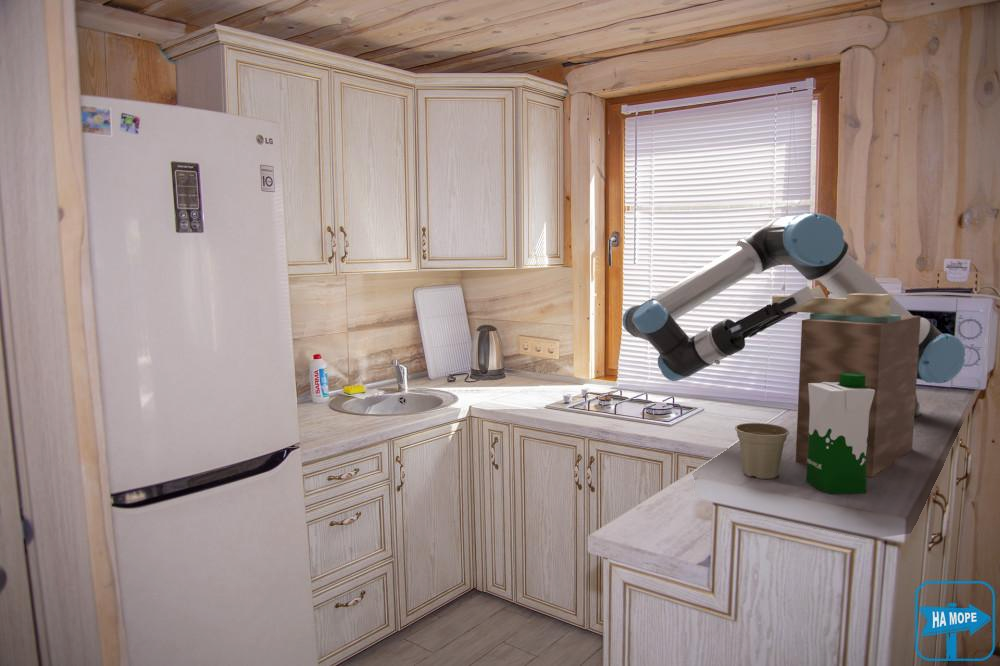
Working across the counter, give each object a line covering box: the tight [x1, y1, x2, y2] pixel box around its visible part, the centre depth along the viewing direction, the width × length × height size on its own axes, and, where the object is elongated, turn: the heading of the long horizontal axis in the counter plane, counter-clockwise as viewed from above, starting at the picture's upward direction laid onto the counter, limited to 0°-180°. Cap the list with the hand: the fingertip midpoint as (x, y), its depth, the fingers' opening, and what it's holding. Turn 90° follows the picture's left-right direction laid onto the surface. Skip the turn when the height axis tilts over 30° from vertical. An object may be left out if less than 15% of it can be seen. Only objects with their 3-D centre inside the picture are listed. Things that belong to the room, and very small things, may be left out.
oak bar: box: [771, 293, 892, 317], centre depth 141 cm, size 21×6×4 cm, turn 46°
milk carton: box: [805, 372, 875, 495], centre depth 123 cm, size 9×9×20 cm
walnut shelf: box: [795, 313, 922, 478], centre depth 143 cm, size 14×26×29 cm, turn 136°
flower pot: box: [734, 422, 790, 480], centre depth 131 cm, size 9×9×9 cm
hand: (816, 291), depth 142 cm, fingers open, 5 cm apart
